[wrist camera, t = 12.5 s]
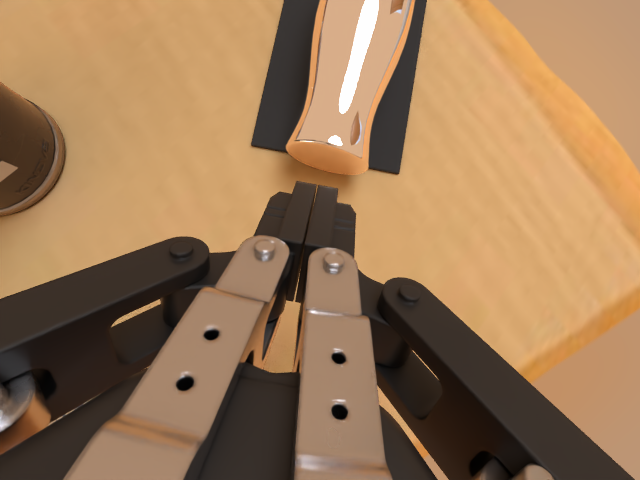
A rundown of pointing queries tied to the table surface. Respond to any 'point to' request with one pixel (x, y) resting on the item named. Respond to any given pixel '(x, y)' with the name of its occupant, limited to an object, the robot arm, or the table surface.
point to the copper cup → (348, 81)
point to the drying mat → (291, 81)
